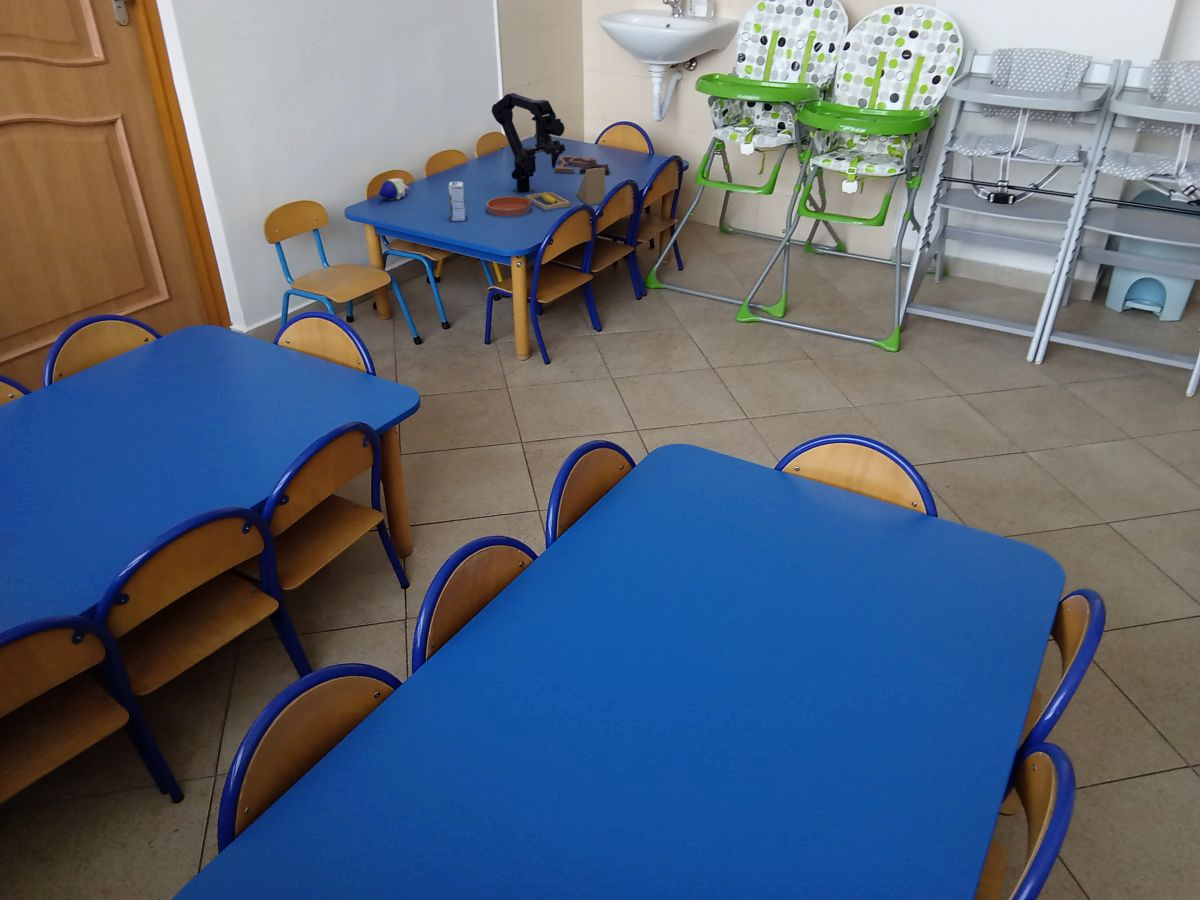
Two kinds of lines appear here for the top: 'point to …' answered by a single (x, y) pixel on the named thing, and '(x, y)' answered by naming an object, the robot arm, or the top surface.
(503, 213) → the bowl
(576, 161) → the wood carving
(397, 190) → the cartoon head
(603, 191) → the sandwich container
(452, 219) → the syrup box
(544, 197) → the banana
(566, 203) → the tray
